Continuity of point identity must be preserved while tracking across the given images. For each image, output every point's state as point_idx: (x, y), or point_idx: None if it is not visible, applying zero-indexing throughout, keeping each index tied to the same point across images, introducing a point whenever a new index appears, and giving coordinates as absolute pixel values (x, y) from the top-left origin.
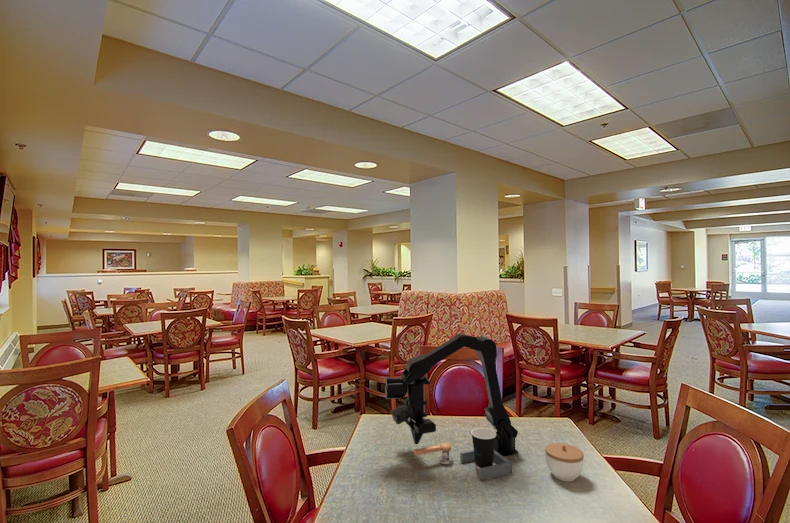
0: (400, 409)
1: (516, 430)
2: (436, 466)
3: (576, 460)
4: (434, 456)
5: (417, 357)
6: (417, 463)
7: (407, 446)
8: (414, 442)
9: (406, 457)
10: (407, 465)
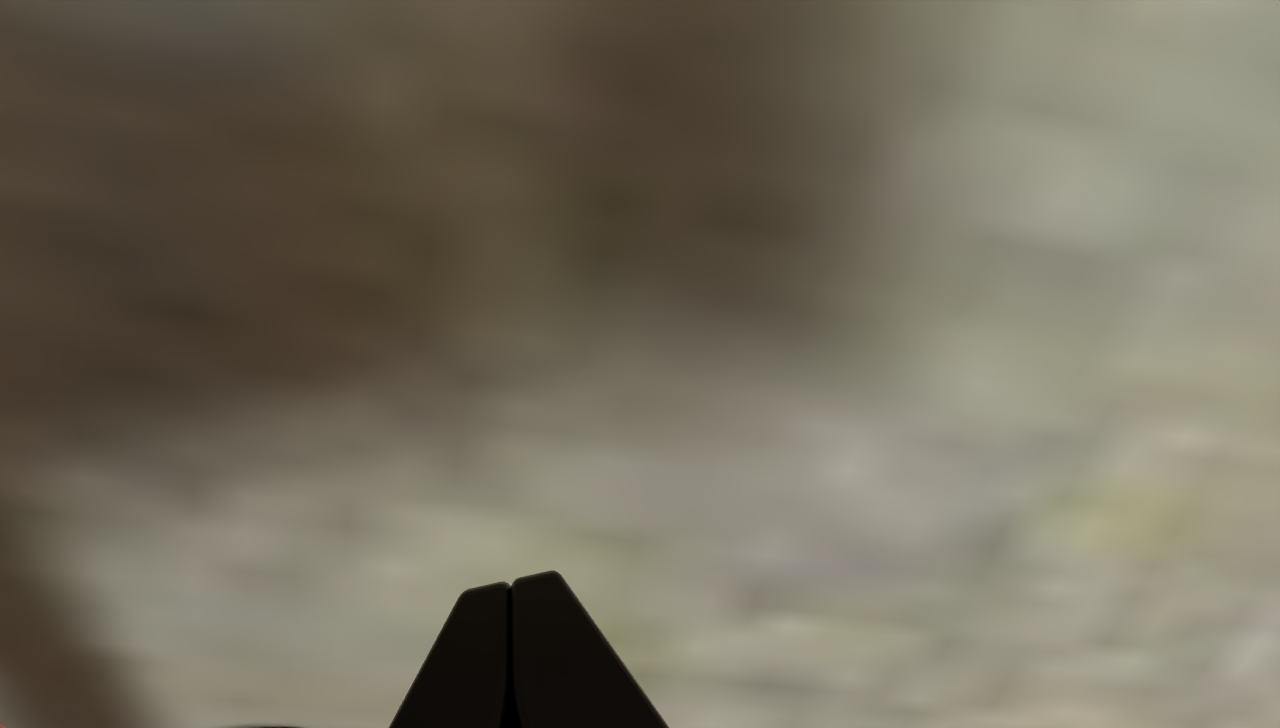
0: None
1: None
2: (33, 686)
3: None
4: None
5: None
6: (168, 336)
7: (1128, 241)
8: (525, 602)
9: (548, 102)
10: (21, 34)
